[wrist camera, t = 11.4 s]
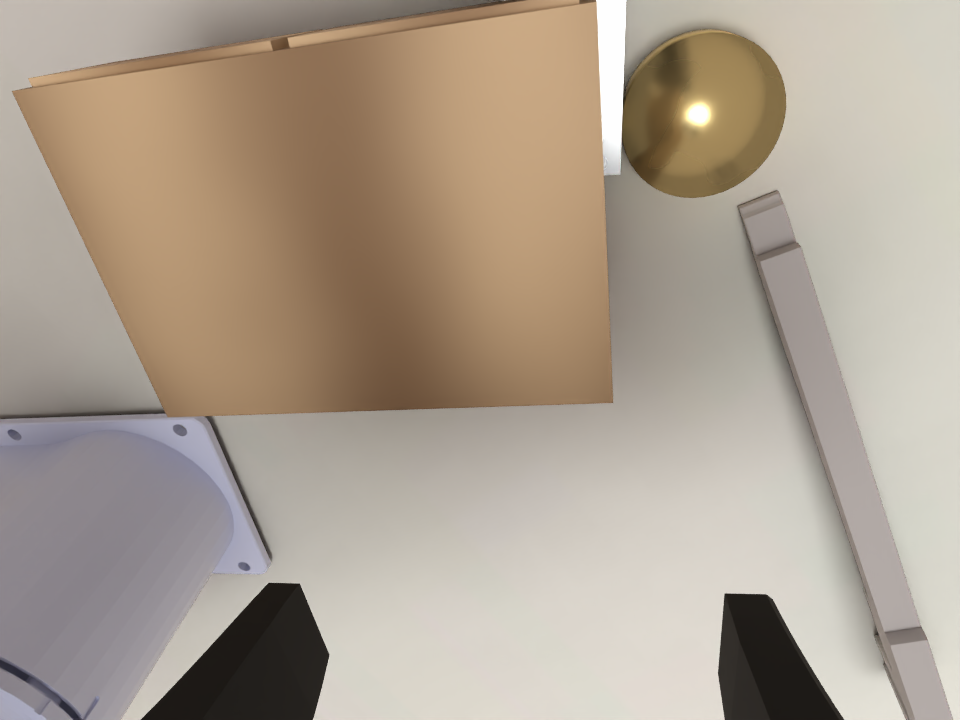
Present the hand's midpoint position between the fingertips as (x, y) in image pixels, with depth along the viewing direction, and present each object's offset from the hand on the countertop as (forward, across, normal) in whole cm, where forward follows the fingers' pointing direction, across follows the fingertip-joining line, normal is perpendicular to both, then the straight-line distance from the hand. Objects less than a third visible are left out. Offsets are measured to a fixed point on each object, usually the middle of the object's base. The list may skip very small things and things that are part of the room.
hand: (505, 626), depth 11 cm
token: (+10, -4, -6) cm, 13 cm away
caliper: (+10, -9, +6) cm, 15 cm away
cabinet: (+10, +3, -6) cm, 12 cm away
